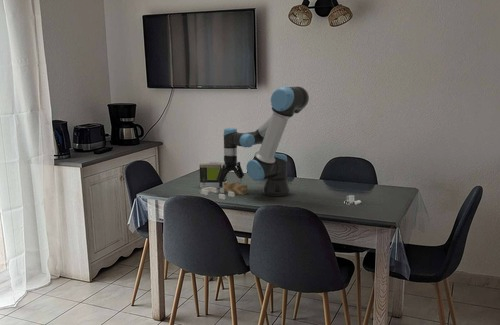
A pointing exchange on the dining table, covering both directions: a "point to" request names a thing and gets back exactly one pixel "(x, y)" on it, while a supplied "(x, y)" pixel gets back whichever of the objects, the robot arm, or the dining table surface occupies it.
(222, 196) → the guide cap
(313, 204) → the dining table surface
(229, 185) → the tan wooden bar
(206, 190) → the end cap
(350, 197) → the teacup and saucer
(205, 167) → the tea box
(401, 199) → the dining table surface
